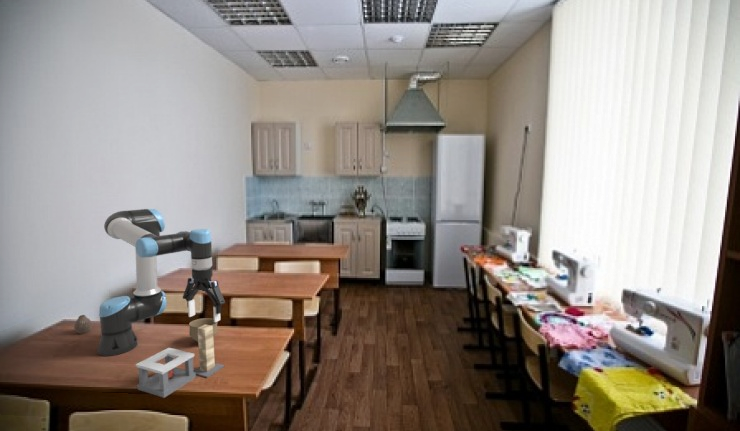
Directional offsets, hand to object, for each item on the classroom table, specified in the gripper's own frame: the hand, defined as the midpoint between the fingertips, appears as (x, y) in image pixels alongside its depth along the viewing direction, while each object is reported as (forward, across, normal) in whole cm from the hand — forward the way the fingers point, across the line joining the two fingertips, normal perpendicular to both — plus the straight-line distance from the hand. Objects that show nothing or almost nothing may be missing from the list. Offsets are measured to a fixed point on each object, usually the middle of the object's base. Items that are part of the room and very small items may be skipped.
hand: (204, 318), depth 144 cm
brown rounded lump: (+24, -88, +4) cm, 91 cm away
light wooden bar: (+22, +1, 0) cm, 22 cm away
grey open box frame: (+22, -6, -13) cm, 27 cm away
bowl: (+23, -21, +19) cm, 37 cm away
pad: (+22, +1, 0) cm, 22 cm away
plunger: (+22, -6, -13) cm, 26 cm away
